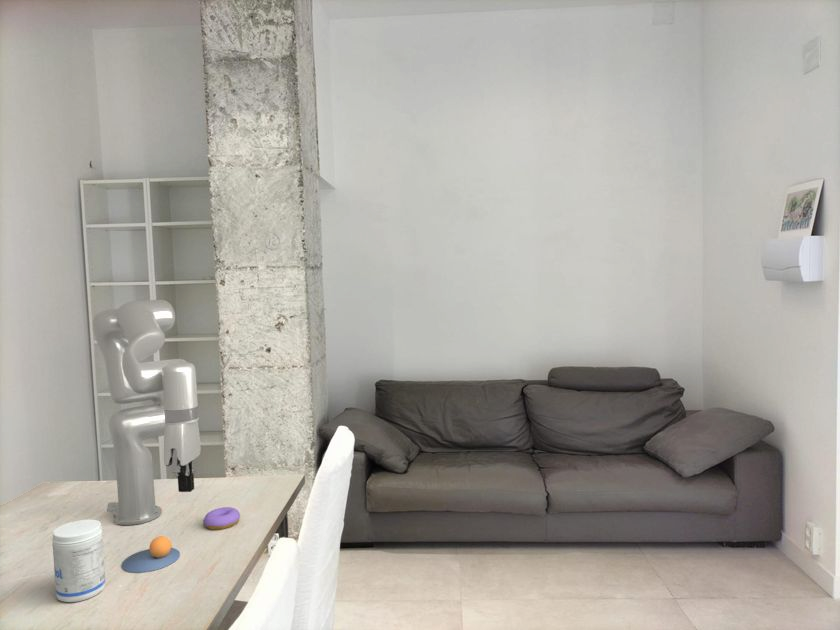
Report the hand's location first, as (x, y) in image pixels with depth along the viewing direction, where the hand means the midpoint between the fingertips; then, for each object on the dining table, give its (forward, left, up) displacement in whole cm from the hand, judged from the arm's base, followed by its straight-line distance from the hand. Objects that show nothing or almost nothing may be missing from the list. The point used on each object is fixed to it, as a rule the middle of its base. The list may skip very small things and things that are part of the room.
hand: (186, 490), depth 149 cm
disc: (-10, 0, -17) cm, 20 cm away
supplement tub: (-18, -15, -17) cm, 29 cm away
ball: (-8, +2, -15) cm, 17 cm away
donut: (-1, +22, -18) cm, 28 cm away
